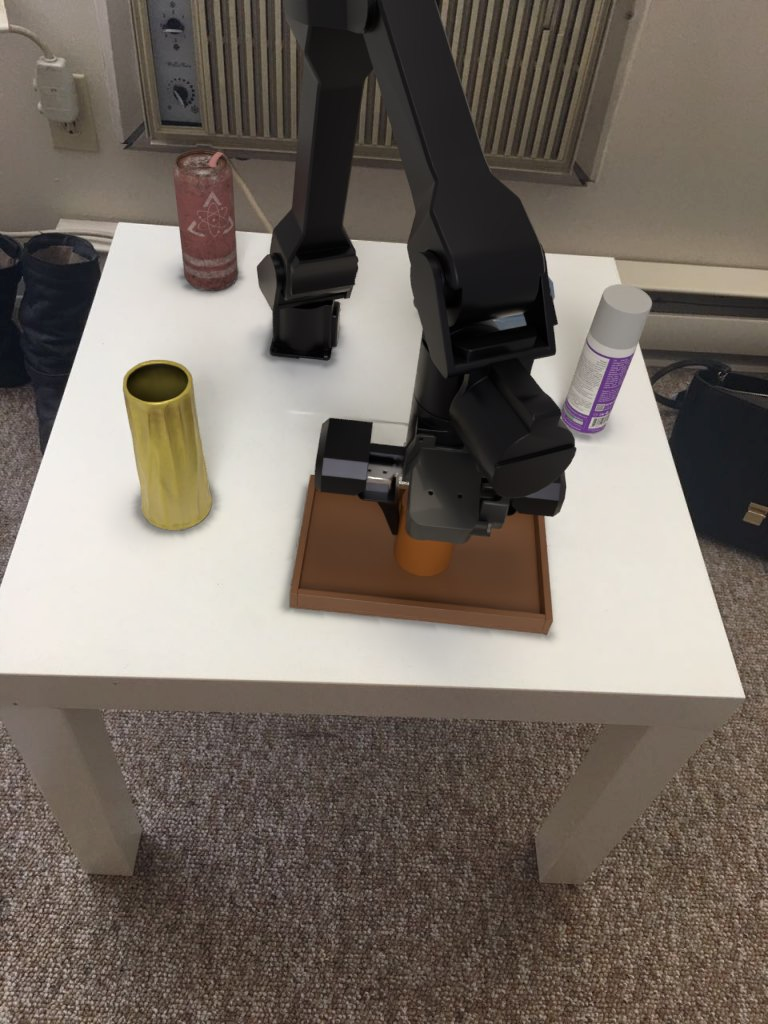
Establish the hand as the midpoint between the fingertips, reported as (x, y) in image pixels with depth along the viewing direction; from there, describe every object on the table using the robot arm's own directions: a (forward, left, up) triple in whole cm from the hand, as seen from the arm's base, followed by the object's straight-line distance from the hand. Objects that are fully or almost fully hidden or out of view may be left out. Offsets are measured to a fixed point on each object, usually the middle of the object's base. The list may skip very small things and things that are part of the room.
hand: (426, 534), depth 69 cm
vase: (-22, +3, -3) cm, 22 cm away
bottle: (0, 0, -3) cm, 3 cm away
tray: (0, 0, -3) cm, 3 cm away
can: (-26, +38, -3) cm, 46 cm away
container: (+16, +20, -3) cm, 26 cm away
